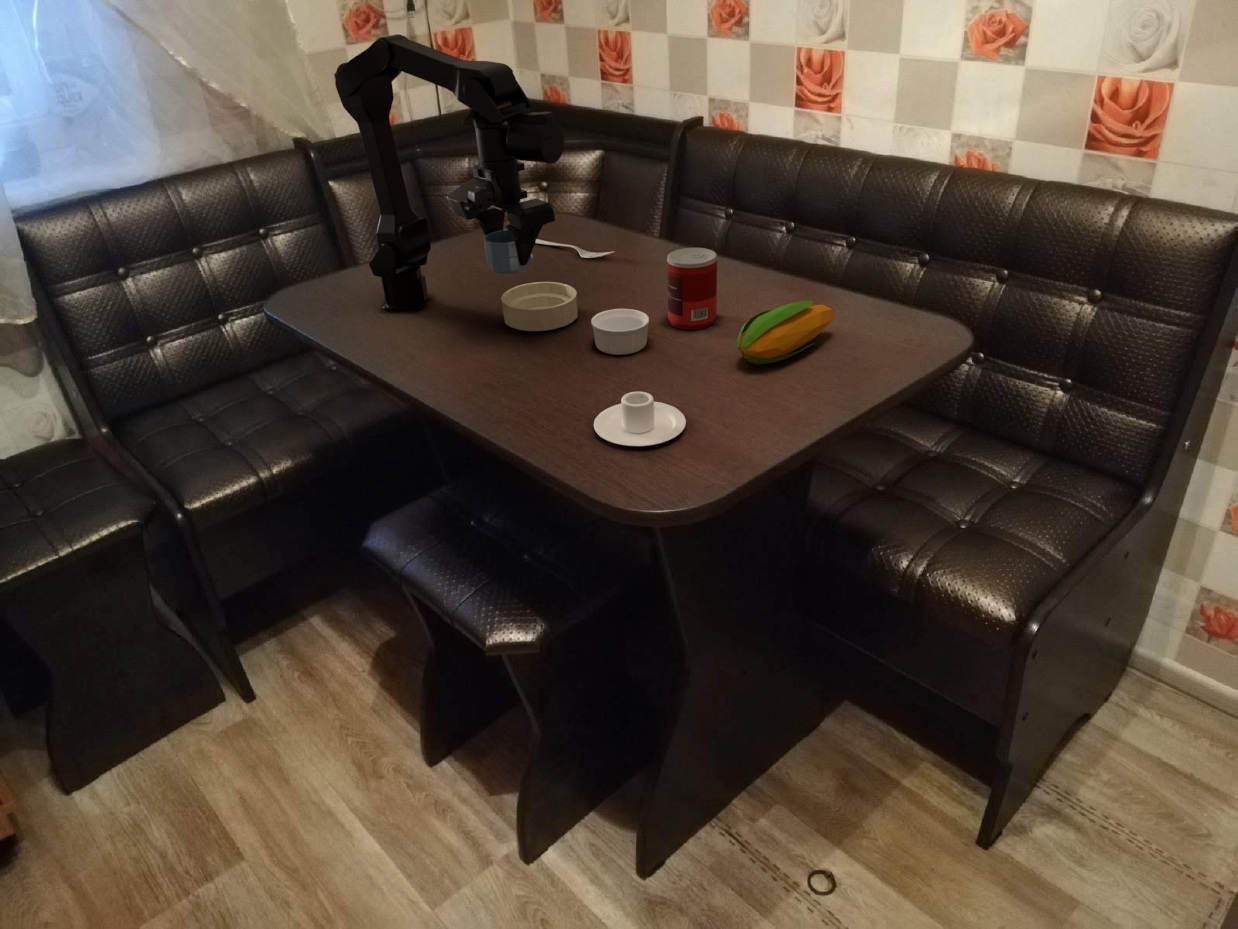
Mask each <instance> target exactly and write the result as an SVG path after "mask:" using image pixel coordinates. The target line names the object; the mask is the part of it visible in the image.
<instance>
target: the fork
mask: <svg viewBox="0 0 1238 929" xmlns="http://www.w3.org/2000/svg"><path fill="white" fill-rule="evenodd" d="M535 244H539V245H547V246H555V247H567V248H571V249H574V250H576V251H577V252H578V254H579V257H581V258H584V259H595V258H600V257H604V256H605V257H606V256H608V255H610V254H613V253H615V252H616V251H615V250H613V251H606V252H595V251H594V252H593V251H588V250H584V249H582V248H580V247H578V246H577V245H574V244H573V245H572V244H566V243H557V242H553V241H549V240H543V239H539V238H537V239H536V242H535Z"/></svg>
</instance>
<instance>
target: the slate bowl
mask: <svg viewBox="0 0 1238 929" xmlns="http://www.w3.org/2000/svg"><path fill="white" fill-rule="evenodd" d="M483 244H484V250H485V251H484V252H485V258H486V267H487V268H488V270H491V271H493V272H494V273H497V274H503V275H509V274H510V275H511V274H518V273H522V272H525V271H526V270H528V269H529V268H530V267H532V266H533V264H534V255H533V251H532V252H531V255H530V258H529V260H528V263H527V264H526V265H524V266H521V265H520V262H519V259H518V255H517V250H516V245H515V240H514V235H513V233H512V232H510V231H509V230H508V229H507V228H505V229H503V230H499V231H495V232H491V233H489V234H487V235H486V236H485V235H484V237H483Z"/></svg>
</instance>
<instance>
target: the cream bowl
mask: <svg viewBox="0 0 1238 929" xmlns="http://www.w3.org/2000/svg"><path fill="white" fill-rule="evenodd" d="M500 301H501V309H502V317H503V322H504V323H505V325H507V326H508V327H510V328H512V329H516V330H519V331H524V332H544V331H551V330H556V329H561V328H563V327H566V326H568V325H570V324H572V323H573V322H574V321H576V319H578V317H579V301H578V291H577V290H576V288H574V287H573V286H571V285H569V284H566V283H562V282H555V281H537V282H536V281H535V282H529V283H527V282H526V283H524V284H519V285H516V286H514V287H512V288H509V289H508V290H506V291H505V292H503V294H502V295H501V297H500Z"/></svg>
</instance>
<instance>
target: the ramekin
mask: <svg viewBox="0 0 1238 929" xmlns="http://www.w3.org/2000/svg"><path fill="white" fill-rule="evenodd" d="M590 323H591V327H592V331H593V336H594V337H593V338H594V344H595V347H596V348H597V349H598V350H599V351H601V352H602V353H605V354H608V355H615V356H616V355H617V356H623V355H624V356H625V355H630V354H634V353H637V352H640V351H641V350H643V349H644V348H645V347H646V345H647V342H648V331H649V330H648V329H649V323H650V317H649V315H648V314H647V313H645V312H643V311H641V310H637V309H632V308H614V309H608V310H603V311H601V312H598V313H596V314H595V315H593V317H592V318H591V320H590Z"/></svg>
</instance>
